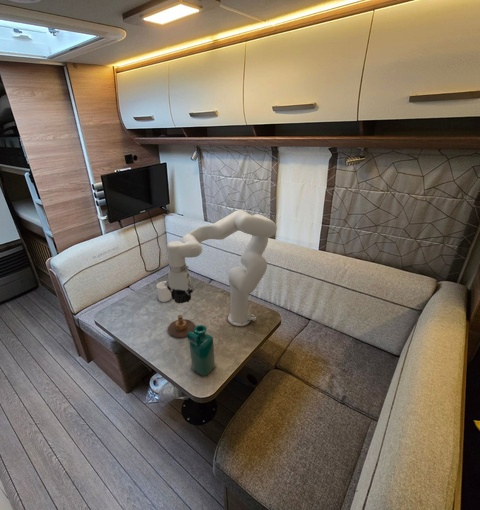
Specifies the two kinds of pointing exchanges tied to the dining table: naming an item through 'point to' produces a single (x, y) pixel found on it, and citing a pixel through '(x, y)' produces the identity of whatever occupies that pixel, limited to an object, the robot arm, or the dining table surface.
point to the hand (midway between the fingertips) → (181, 299)
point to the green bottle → (201, 350)
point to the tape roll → (180, 296)
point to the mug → (163, 292)
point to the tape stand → (181, 327)
